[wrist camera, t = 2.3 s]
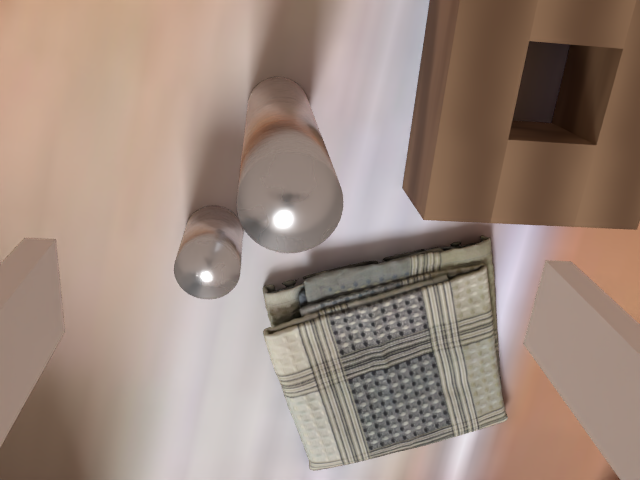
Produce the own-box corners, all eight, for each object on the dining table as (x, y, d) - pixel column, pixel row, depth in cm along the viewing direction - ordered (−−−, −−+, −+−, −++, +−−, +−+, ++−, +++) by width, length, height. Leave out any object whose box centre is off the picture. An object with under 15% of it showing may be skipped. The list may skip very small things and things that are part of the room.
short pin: (185, 256, 42) (174, 298, 37) (185, 204, 41) (173, 239, 35) (242, 258, 43) (239, 300, 37) (243, 207, 41) (241, 242, 36)
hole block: (402, 188, 41) (423, 219, 36) (439, -67, 35) (472, -76, 30) (589, 197, 43) (636, 229, 38) (657, -45, 37) (726, -49, 31)
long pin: (246, 136, 39) (234, 251, 23) (248, 74, 37) (237, 149, 21) (306, 140, 40) (337, 255, 23) (311, 79, 38) (348, 155, 22)
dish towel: (506, 412, 51) (521, 438, 49) (307, 460, 52) (309, 489, 49) (485, 221, 44) (501, 239, 41) (250, 278, 44) (250, 299, 41)
